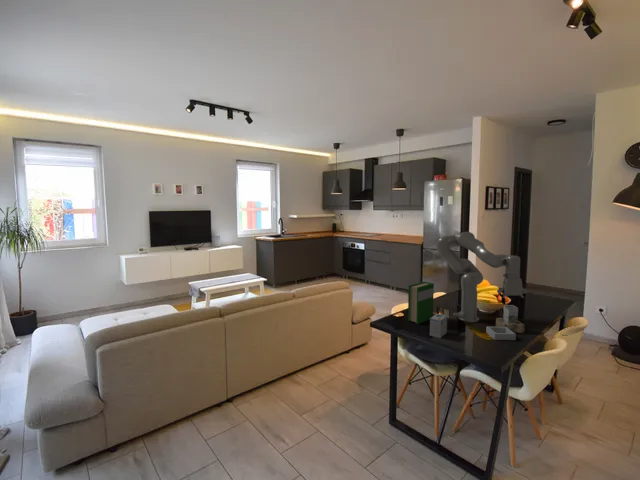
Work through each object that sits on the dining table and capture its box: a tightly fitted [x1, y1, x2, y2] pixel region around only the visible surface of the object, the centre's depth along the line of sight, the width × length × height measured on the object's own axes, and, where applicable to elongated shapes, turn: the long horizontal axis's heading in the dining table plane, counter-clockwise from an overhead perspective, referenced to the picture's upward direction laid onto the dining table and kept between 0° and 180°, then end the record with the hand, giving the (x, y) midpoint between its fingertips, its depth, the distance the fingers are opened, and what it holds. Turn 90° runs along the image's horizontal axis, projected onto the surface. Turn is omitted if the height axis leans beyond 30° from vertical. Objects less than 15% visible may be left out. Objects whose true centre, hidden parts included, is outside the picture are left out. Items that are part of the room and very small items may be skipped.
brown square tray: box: [495, 317, 526, 334], centre depth 204 cm, size 11×11×5 cm
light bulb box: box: [429, 313, 448, 339], centre depth 197 cm, size 11×7×11 cm, turn 141°
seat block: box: [485, 326, 517, 341], centre depth 193 cm, size 11×11×4 cm
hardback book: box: [407, 281, 435, 325], centre depth 221 cm, size 18×7×24 cm, turn 130°
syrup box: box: [502, 304, 519, 324], centre depth 204 cm, size 6×6×14 cm
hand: (511, 304), depth 202 cm, fingers open, 9 cm apart
